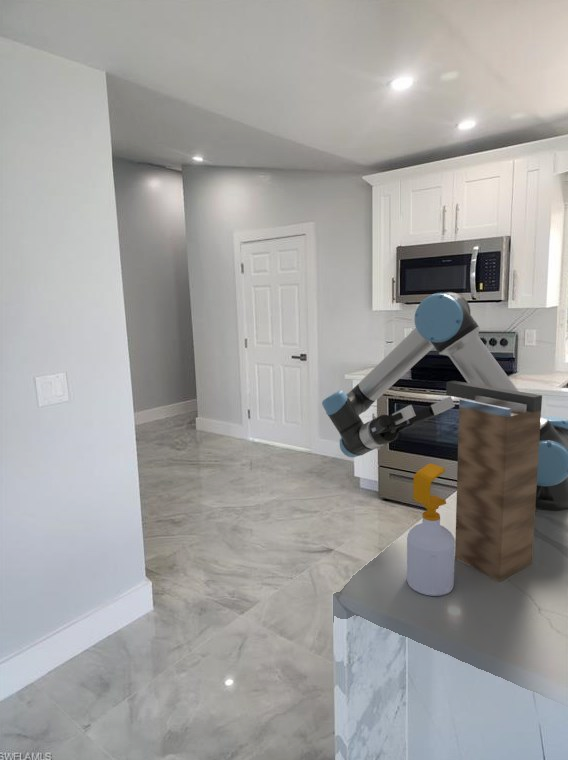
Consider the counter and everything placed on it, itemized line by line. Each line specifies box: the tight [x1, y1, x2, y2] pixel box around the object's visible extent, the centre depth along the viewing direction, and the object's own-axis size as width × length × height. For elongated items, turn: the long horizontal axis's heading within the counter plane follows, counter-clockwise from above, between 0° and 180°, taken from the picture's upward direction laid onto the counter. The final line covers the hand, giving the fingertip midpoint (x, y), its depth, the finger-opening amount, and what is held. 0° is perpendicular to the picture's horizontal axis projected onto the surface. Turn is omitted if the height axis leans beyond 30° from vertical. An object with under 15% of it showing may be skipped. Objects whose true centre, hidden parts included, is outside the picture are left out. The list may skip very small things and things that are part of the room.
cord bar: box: [445, 380, 543, 412], centre depth 106 cm, size 21×3×3 cm, turn 32°
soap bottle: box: [406, 463, 455, 597], centre depth 99 cm, size 9×9×25 cm
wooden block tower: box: [454, 395, 542, 582], centre depth 105 cm, size 11×11×36 cm
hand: (432, 405), depth 120 cm, fingers open, 13 cm apart
